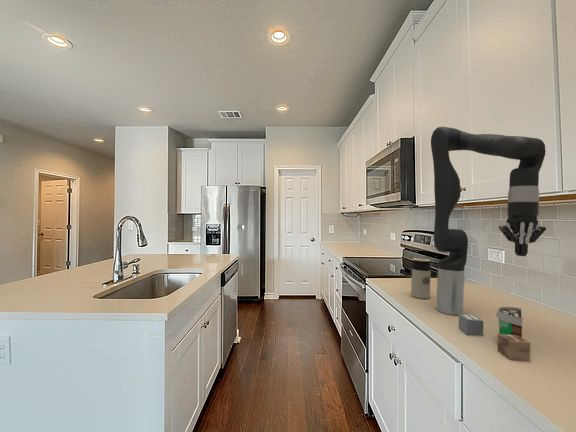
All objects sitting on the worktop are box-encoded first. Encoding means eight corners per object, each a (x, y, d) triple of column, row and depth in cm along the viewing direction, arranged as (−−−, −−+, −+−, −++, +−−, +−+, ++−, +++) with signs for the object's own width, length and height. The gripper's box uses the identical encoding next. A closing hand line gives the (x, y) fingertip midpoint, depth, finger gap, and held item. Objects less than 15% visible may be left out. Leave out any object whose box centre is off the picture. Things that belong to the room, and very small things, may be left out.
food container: (496, 333, 91) (496, 303, 91) (520, 339, 88) (521, 308, 87) (494, 347, 82) (495, 313, 82) (521, 354, 78) (522, 319, 78)
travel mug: (408, 294, 135) (409, 257, 135) (425, 294, 135) (426, 257, 135) (415, 299, 127) (416, 260, 127) (433, 299, 127) (434, 260, 127)
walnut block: (497, 351, 80) (497, 333, 80) (515, 352, 79) (516, 334, 79) (509, 360, 75) (510, 341, 75) (529, 361, 74) (530, 342, 74)
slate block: (458, 329, 95) (458, 314, 95) (473, 329, 95) (474, 314, 94) (466, 335, 90) (467, 319, 90) (482, 336, 90) (483, 320, 90)
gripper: (535, 201, 91) (533, 254, 91) (493, 201, 92) (491, 253, 92) (556, 201, 83) (553, 258, 84) (509, 200, 84) (507, 257, 85)
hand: (520, 255), depth 88 cm, fingers closed
